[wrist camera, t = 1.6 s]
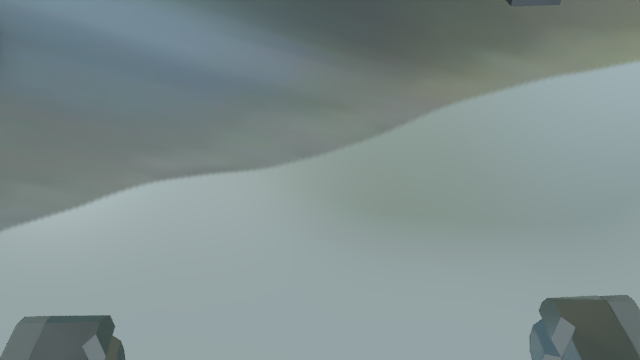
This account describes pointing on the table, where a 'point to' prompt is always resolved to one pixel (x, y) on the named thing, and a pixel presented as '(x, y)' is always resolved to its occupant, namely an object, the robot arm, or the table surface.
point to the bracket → (533, 2)
